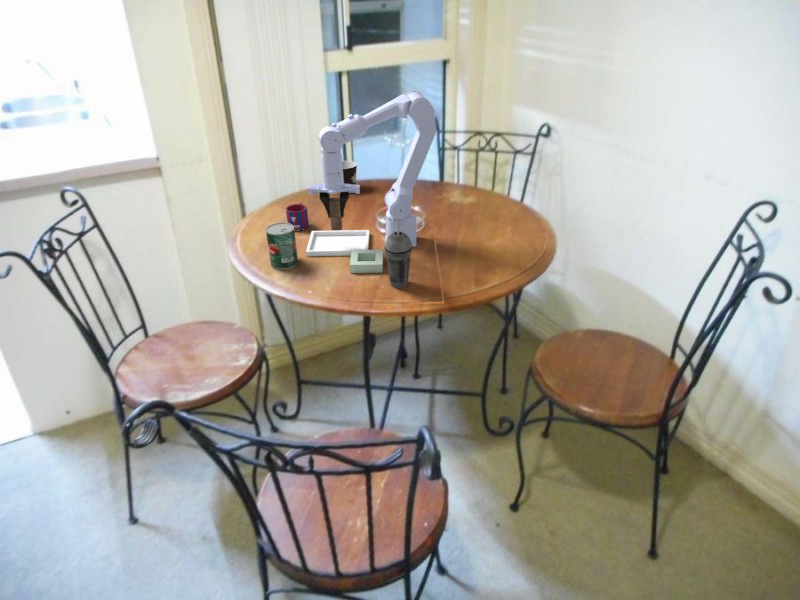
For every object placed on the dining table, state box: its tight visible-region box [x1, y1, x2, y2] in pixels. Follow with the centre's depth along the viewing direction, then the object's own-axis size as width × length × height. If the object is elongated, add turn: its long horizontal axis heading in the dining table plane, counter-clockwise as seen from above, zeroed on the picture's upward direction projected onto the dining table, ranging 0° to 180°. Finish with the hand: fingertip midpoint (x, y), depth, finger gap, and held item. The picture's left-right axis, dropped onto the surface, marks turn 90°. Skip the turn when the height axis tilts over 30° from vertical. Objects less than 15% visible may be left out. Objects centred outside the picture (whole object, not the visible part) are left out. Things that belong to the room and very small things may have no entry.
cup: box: [285, 202, 310, 232], centre depth 184 cm, size 7×10×7 cm
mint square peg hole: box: [349, 249, 384, 274], centre depth 161 cm, size 9×9×3 cm
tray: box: [305, 229, 370, 257], centre depth 172 cm, size 18×14×2 cm
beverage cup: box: [384, 218, 413, 289], centre depth 147 cm, size 7×7×20 cm
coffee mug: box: [342, 160, 358, 195], centre depth 208 cm, size 12×9×10 cm
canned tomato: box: [265, 222, 299, 270], centre depth 161 cm, size 8×8×11 cm
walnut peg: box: [329, 196, 343, 231], centre depth 165 cm, size 3×3×9 cm
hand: (336, 216), depth 166 cm, fingers closed on walnut peg, 3 cm apart
